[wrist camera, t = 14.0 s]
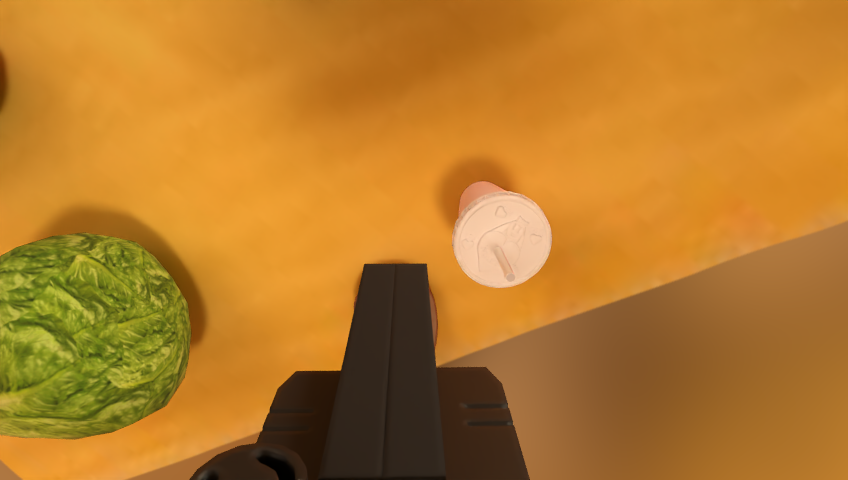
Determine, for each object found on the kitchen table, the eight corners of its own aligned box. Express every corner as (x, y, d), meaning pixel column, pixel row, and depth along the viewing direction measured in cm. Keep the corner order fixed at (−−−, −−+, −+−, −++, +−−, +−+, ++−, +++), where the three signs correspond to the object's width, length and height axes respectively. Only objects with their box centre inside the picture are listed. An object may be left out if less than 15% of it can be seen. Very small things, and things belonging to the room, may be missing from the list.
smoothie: (427, 210, 41) (436, 280, 28) (477, 148, 39) (512, 191, 26) (486, 254, 42) (522, 340, 29) (537, 196, 41) (598, 259, 28)
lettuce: (-186, 334, 37) (-163, 536, 34) (10, 202, 30) (60, 442, 27) (23, 318, 50) (53, 463, 47) (193, 225, 43) (240, 388, 40)
